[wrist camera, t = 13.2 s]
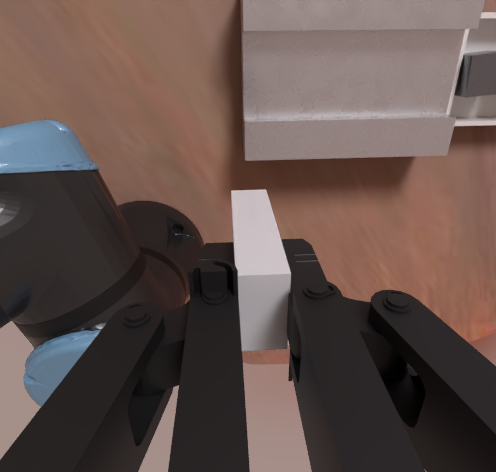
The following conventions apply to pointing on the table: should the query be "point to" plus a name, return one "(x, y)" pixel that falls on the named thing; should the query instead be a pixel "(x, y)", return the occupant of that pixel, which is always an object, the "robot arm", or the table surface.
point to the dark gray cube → (477, 74)
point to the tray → (464, 109)
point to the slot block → (350, 76)
